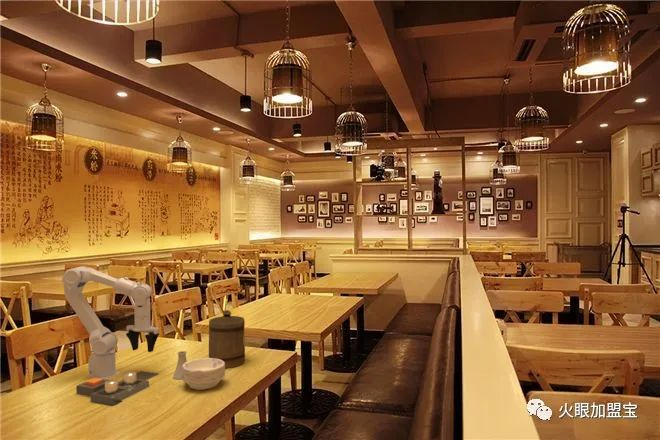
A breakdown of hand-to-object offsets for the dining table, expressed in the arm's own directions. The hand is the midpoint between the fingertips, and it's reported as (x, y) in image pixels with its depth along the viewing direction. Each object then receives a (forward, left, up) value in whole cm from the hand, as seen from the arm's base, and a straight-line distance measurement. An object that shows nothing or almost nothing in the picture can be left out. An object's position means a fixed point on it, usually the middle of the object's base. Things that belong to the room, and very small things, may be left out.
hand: (143, 350), depth 176 cm
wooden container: (+23, +23, -10) cm, 34 cm away
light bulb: (+7, -22, -9) cm, 25 cm away
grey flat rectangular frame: (+7, -18, -9) cm, 21 cm away
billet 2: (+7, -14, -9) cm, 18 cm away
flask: (+17, +2, -10) cm, 20 cm away
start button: (-4, -19, -8) cm, 21 cm away
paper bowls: (+29, -1, -10) cm, 31 cm away
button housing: (-4, -19, -9) cm, 22 cm away
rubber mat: (+2, -3, -9) cm, 10 cm away
